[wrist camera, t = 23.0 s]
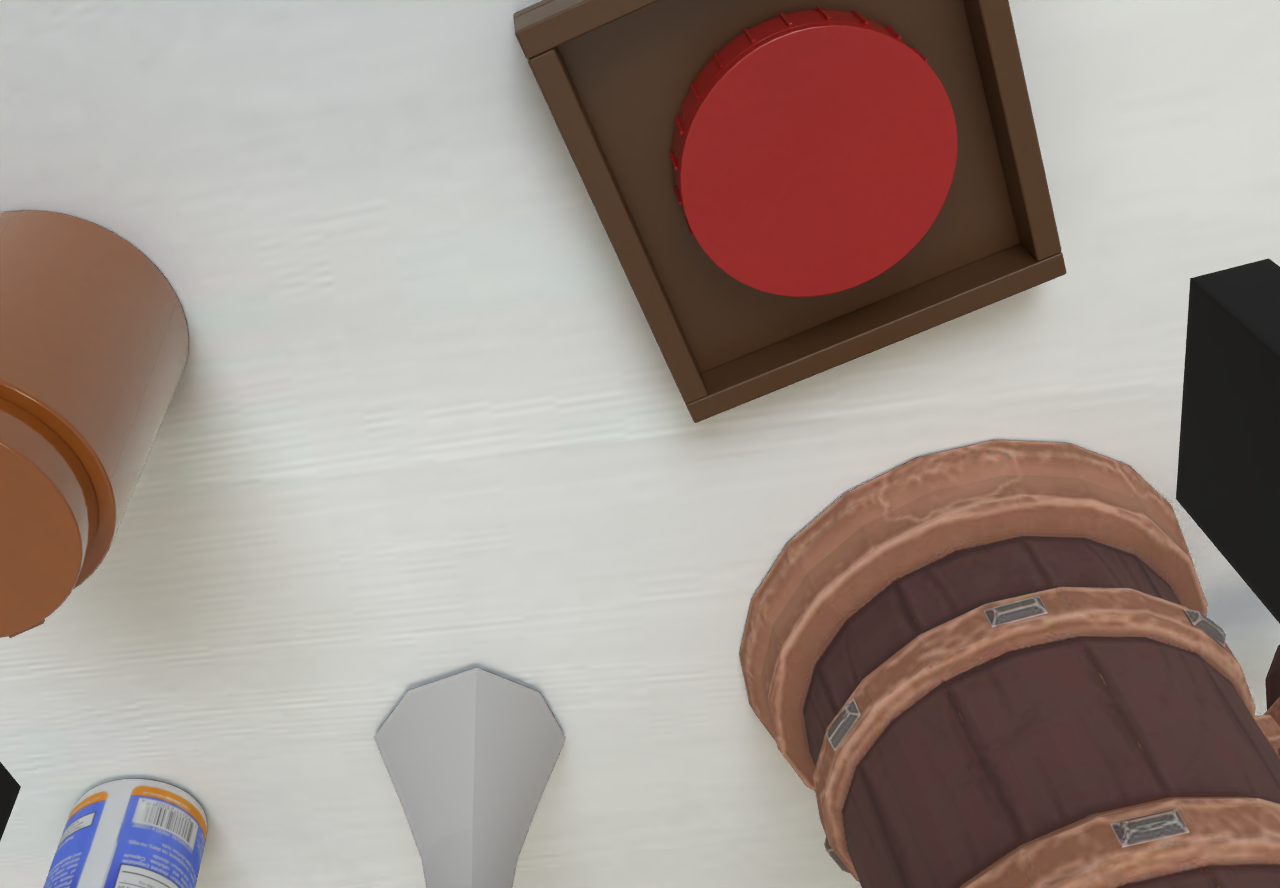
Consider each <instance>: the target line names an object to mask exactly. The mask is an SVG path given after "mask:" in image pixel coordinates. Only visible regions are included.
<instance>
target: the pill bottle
mask: <svg viewBox="0 0 1280 888" xmlns="http://www.w3.org/2000/svg"><path fill="white" fill-rule="evenodd" d="M206 834H207V821H206V816H205V813H204V811H203V809H202V808H201V806H200V805H199V803H198V802H197V801H196V800H195V799H194V798H193V797H192V796H190V795H189V794H188V793H186V792H185V791H183V790H181V789H179V788H177V787H174V786H172V785H169V784H166V783H163V782H158V781H153V780H146V779H122V780H115V781H111V782H107V783H104V784H101V785H99V786H97V787H95V788H93V789H91V790H90V791H88V792H87V793H86V794H84V795H83V796H82V797H81V798H80V799H79V800H78V801H77V803H76V804H75V806H74V807H73V809H72V811H71V813H70V815H69V817H68V820H67V823H66V825H65V828H64V831H63V834H62V837H61V839H60V842H59V845H58V848H57V851H56V853H55V856H54V859H53V862H52V865H51V868H50V870H49V873H48V876H47V879H46V882H45V885H44V888H195V886H196V881H197V877H198V872H199V868H200V863H201V859H202V855H203V851H204V846H205V841H206Z"/></svg>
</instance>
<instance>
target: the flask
mask: <svg viewBox="0 0 1280 888" xmlns="http://www.w3.org/2000/svg"><path fill="white" fill-rule="evenodd" d="M374 737H375V740H376V743H377V745H378V748H379V751H380V754H381V756H382V758H383V761H384V763H385V766H386V768H387V770H388V773H389V775H390V778H391V780H392V782H393V785H394V787H395V790H396V792H397V794H398V797H399V799H400V802H401V804H402V807H403V810H404V812H405V815H406V818H407V821H408V823H409V826H410V829H411V832H412V834H413V837H414V840H415V843H416V845H417V848H418V851H419V854H420V856H421V859H422V865H423V871H424V877H425V882H426V888H512V886H513V881H514V876H515V870H516V865H517V860H518V856H519V854H520V851H521V848H522V846H523V843H524V840H525V838H526V835H527V832H528V830H529V827H530V824H531V822H532V819H533V816H534V814H535V811H536V809H537V806H538V803H539V801H540V798H541V796H542V794H543V791H544V789H545V787H546V784H547V782H548V780H549V777H550V775H551V773H552V770H553V768H554V766H555V763H556V761H557V759H558V756H559V754H560V751H561V749H562V746H563V743H564V741H565V736H564V734H563V732H562V731H561V729H560V727H559V725H558V724H557V722H556V720H555V718H554V717H553V715H552V713H551V711H550V710H549V708H548V706H547V704H546V703H545V701H544V699H543V697H542V695H541V694H540V692H537V691H535V690H532V689H530V688H527V687H525V686H522V685H519V684H517V683H514V682H512V681H509V680H507V679H504V678H502V677H499V676H497V675H494V674H491V673H489V672H486V671H484V670H481V669H479V668H474V669H471V670H468V671H465V672H462V673H459V674H456V675H453V676H450V677H447V678H444V679H441V680H438V681H435V682H432V683H429V684H426V685H423V686H420V687H417V688H414V689H412V690H409V691H408V692H407V693H406V694H405V696H404V697H403V698H402V700H401V701H400V702H399V704H398V705H397V706H396V708H395V709H394V710H393V712H392V713H391V714H390V716H389V717H388V718H387V720H386V721H385V722H384V724H383V725H382V726H381V728H380V729H379V730H378V732H377V733H376V734H375V736H374Z"/></svg>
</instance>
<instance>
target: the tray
mask: <svg viewBox="0 0 1280 888" xmlns="http://www.w3.org/2000/svg"><path fill="white" fill-rule="evenodd" d="M817 7H822V8H823V9H827V10H839V11H845V12H850V13H853V12H854V11H857V12H858V13H860V14H861V15H862V16H863V17H866V18H869V19H872V20H873V21H875V22H877V23H879V24H881V25H883V26H885V27H886V25H889V26H890V27H891V28H892V29H894V30H895V31H896V32H897V33H898V34H899V35H900V36H901V37H902V38H901V39H902V40H903V41H904V42H905V43H907V44H908V45H909V46H910V47H911V48H913V47H914V48H915V49H916V50H918V51H919V52H920V53H921V54H922V55H923V56H924V57H925V58H926V59H927V60H928V62H927V64H928V65H929V66H930V67H931V68H932V69H933V71H934V72H935V74H936V75H937V76H938V78H939V79H940V81H941V82H942V84H943V86H944V88H945V89H946V92H947V94H948V96H949V99H950V102H951V105H952V108H953V111H954V116H955V121H956V127H957V143H958V149H957V160H956V167H955V172H954V176H953V181H952V184H951V187H950V190H949V193H948V195H947V198H946V201H945V203H944V205H943V207H942V209H941V211H940V213H939V215H938V216H937V218H936V220H935V221H934V223H933V224H932V226H931V227H930V229H929V230H928V232H927V233H926V234H925V235H924V236H923V238H922V239H921V240H920V241H919V243H918V244H917V245H916V246H915V247H914V248H913V249H912V250H911V251H910V252H909V253H908V254H907V255H906V256H905V257H904V258H902V259H901V260H900V261H899V262H897V263H896V264H895V265H893V266H892V267H891V268H890V269H888V270H886V271H885V272H883V273H882V274H880V275H878V276H877V277H875V278H873V279H871V280H869V281H867V282H865V283H863V284H861V285H859V286H856V287H853V288H850V289H847V290H844V291H841V292H837V293H832V294H828V295H822V296H812V297H789V296H782V295H775V294H771V293H767V292H764V291H760V290H757V289H755V288H752V287H750V286H748V285H745V284H743V283H741V282H740V281H738V280H736V279H735V278H733V277H731V276H729V275H728V274H727V273H726V272H724V271H723V270H722V269H721V268H719V267H718V266H717V265H716V264H715V263H714V262H713V261H712V260H711V259H710V258H709V257H708V255H707V254H706V253H705V252H704V250H703V249H702V248H701V246H700V245H699V243H698V242H697V240H696V238H695V236H692V235H691V233H690V230H689V227H688V224H687V222H686V219H685V218H686V216H685V213H684V211H683V208H682V205H679V204H678V201H677V198H676V195H675V193H674V190H673V187H675V182H674V176H673V169H672V162H671V159H670V156H669V153H672V146H673V136H674V131H675V127H676V123H675V117H678V115H679V113H680V110H681V107H682V104H683V102H684V100H685V98H686V96H687V94H688V92H689V90H690V86H689V85H690V83H694V81H695V80H696V78H697V77H698V75H699V74H700V72H701V71H702V70H703V68H704V67H705V66H706V65H707V64H708V63H709V61H710V60H711V59H712V58H713V57H714V56H713V54H714V53H715V52H716V53H718V52H719V51H720V50H721V49H722V48H723V47H725V46H726V45H727V44H728V43H729V42H730V41H732V40H733V39H735V38H736V37H737V36H739V35H740V34H742V33H743V32H744V29H745V28H747V29H750V28H752V27H754V26H756V25H758V24H760V23H761V22H763V21H766V20H769V19H772V18H774V17H777V16H780V15H779V13H781V12H783V13H784V14H788V13H792V12H796V11H802V10H814V9H817ZM514 24H515V35H516V37H517V39H518V41H519V43H520V46H521V48H522V50H523V52H524V54H525V57H526V58H527V59H528V63H529V65H530V67H531V70H532V72H533V74H534V76H535V78H536V80H537V83H538V85H539V87H540V89H541V91H542V93H543V96H544V98H545V100H546V102H547V104H548V106H549V109H550V111H551V113H552V115H553V117H554V120H555V122H556V124H557V126H558V128H559V130H560V133H561V135H562V137H563V139H564V141H565V143H566V146H567V148H568V150H569V152H570V154H571V156H572V159H573V161H574V163H575V165H576V167H577V169H578V172H579V174H580V176H581V178H582V180H583V182H584V185H585V187H586V189H587V191H588V193H589V195H590V198H591V200H592V202H593V204H594V206H595V209H596V211H597V213H598V215H599V217H600V219H601V222H602V224H603V226H604V228H605V230H606V232H607V235H608V237H609V239H610V241H611V243H612V245H613V248H614V250H615V252H616V254H617V256H618V258H619V261H620V263H621V265H622V267H623V269H624V271H625V274H626V276H627V278H628V280H629V282H630V284H631V287H632V289H633V291H634V293H635V295H636V298H637V300H638V302H639V304H640V306H641V308H642V311H643V313H644V315H645V317H646V319H647V321H648V324H649V326H650V328H651V330H652V332H653V334H654V337H655V339H656V341H657V343H658V345H659V347H660V350H661V352H662V354H663V356H664V358H665V360H666V363H667V365H668V367H669V369H670V371H671V373H672V376H673V378H674V380H675V382H676V384H677V387H678V389H679V391H680V393H681V395H682V397H683V400H684V402H685V403H686V406H687V408H688V410H689V413H690V415H691V417H692V419H693V421H694V422H695V423H696V422H699V421H701V420H704V419H706V418H709V417H711V416H714V415H716V414H719V413H721V412H724V411H726V410H729V409H731V408H734V407H736V406H739V405H741V404H744V403H746V402H749V401H751V400H754V399H756V398H759V397H761V396H764V395H766V394H769V393H771V392H774V391H776V390H779V389H781V388H783V387H786V386H788V385H791V384H793V383H796V382H798V381H801V380H803V379H806V378H808V377H811V376H813V375H816V374H818V373H821V372H823V371H826V370H828V369H831V368H833V367H836V366H838V365H841V364H843V363H846V362H848V361H851V360H853V359H856V358H858V357H861V356H863V355H866V354H868V353H871V352H873V351H875V350H878V349H880V348H883V347H885V346H888V345H890V344H893V343H895V342H898V341H900V340H903V339H905V338H908V337H910V336H913V335H915V334H918V333H920V332H923V331H925V330H928V329H930V328H933V327H935V326H938V325H940V324H943V323H945V322H948V321H950V320H953V319H955V318H958V317H960V316H963V315H965V314H967V313H970V312H972V311H975V310H977V309H980V308H982V307H985V306H987V305H990V304H992V303H995V302H997V301H1000V300H1002V299H1005V298H1007V297H1010V296H1012V295H1015V294H1017V293H1020V292H1022V291H1025V290H1027V289H1030V288H1032V287H1035V286H1037V285H1040V284H1042V283H1045V282H1047V281H1050V280H1052V279H1054V278H1057V277H1059V276H1062V275H1064V274H1066V268H1065V264H1064V259H1063V254H1062V253H1061V246H1060V241H1059V236H1058V232H1057V227H1056V222H1055V218H1054V213H1053V208H1052V204H1051V199H1050V194H1049V190H1048V185H1047V180H1046V175H1045V171H1044V166H1043V161H1042V157H1041V152H1040V147H1039V143H1038V138H1037V133H1036V129H1035V124H1034V119H1033V114H1032V110H1031V105H1030V100H1029V96H1028V91H1027V86H1026V82H1025V77H1024V72H1023V68H1022V63H1021V58H1020V53H1019V49H1018V44H1017V39H1016V35H1015V30H1014V25H1013V21H1012V16H1011V11H1010V7H1009V2H1008V0H543V1H541V2H539V3H536V4H534V5H532V6H530V7H528V8H525V9H523V10H521V11H519V12H517V13H515V14H514Z"/></svg>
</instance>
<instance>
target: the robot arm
mask: <svg viewBox="0 0 1280 888" xmlns="http://www.w3.org/2000/svg"><path fill="white" fill-rule="evenodd" d="M1176 499H1177V501H1178V502H1179V503H1180V504H1181V505H1182V507H1183V508H1184V509H1185V510H1186V511H1187V513H1188V514H1189V515H1190V516H1191V517H1192V519H1193V520H1194V521H1195V522H1196V523H1197V525H1198V526H1199V527H1200V528H1201V529H1202V531H1203V532H1204V533H1205V534H1206V535H1207V537H1208V538H1209V539H1210V540H1211V541H1212V543H1213V544H1214V545H1215V546H1216V547H1217V549H1218V550H1219V551H1220V552H1221V553H1222V555H1223V556H1224V557H1225V558H1226V559H1227V561H1228V562H1229V563H1230V564H1231V565H1232V567H1233V568H1234V569H1235V570H1236V571H1237V573H1238V574H1239V575H1240V576H1241V577H1242V579H1243V580H1244V581H1245V582H1246V584H1247V585H1248V586H1249V587H1250V588H1251V590H1252V591H1253V592H1254V593H1255V594H1256V596H1257V597H1258V598H1259V599H1260V600H1261V602H1262V603H1263V604H1264V605H1265V606H1266V608H1267V609H1268V610H1269V611H1270V612H1271V614H1272V615H1273V616H1274V617H1275V618H1276V620H1277V621H1278V622H1279V623H1280V267H1279V266H1278V265H1277V264H1275V263H1274V262H1273V261H1271V260H1270V259H1265V260H1261V261H1257V262H1253V263H1249V264H1245V265H1241V266H1238V267H1234V268H1230V269H1226V270H1222V271H1218V272H1214V273H1210V274H1206V275H1202V276H1198V277H1194V278H1190V293H1189V309H1188V324H1187V339H1186V354H1185V370H1184V385H1183V400H1182V416H1181V431H1180V446H1179V462H1178V477H1177V492H1176ZM20 788H21V787H20V785H19V784H18V783H17V782H16V780H15V779H14V778H13V777H12V776H11V774H10V773H9V772H8V771H7V770H6V768H5V767H4V766H3V765H2V763H1V762H0V840H1V838H2V835H3V833H4V830H5V827H6V825H7V822H8V819H9V817H10V814H11V811H12V809H13V806H14V804H15V801H16V798H17V796H18V793H19V790H20Z"/></svg>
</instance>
